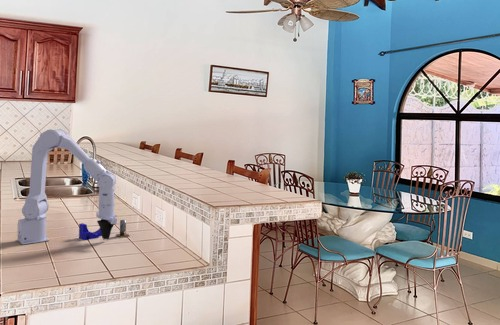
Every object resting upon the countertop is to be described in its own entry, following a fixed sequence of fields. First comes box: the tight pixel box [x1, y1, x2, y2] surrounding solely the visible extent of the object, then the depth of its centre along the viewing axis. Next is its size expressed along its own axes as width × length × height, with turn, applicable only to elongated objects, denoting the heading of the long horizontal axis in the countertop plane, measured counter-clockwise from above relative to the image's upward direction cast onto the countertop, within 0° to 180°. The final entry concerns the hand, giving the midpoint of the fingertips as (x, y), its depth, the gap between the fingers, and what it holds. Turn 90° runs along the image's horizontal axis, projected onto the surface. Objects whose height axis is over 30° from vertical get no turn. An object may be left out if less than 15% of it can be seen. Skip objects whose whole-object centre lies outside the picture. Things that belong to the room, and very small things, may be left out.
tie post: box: [115, 219, 130, 239], centre depth 166 cm, size 4×4×7 cm
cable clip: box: [78, 222, 102, 241], centre depth 163 cm, size 12×4×6 cm, turn 142°
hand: (105, 238), depth 157 cm, fingers closed
